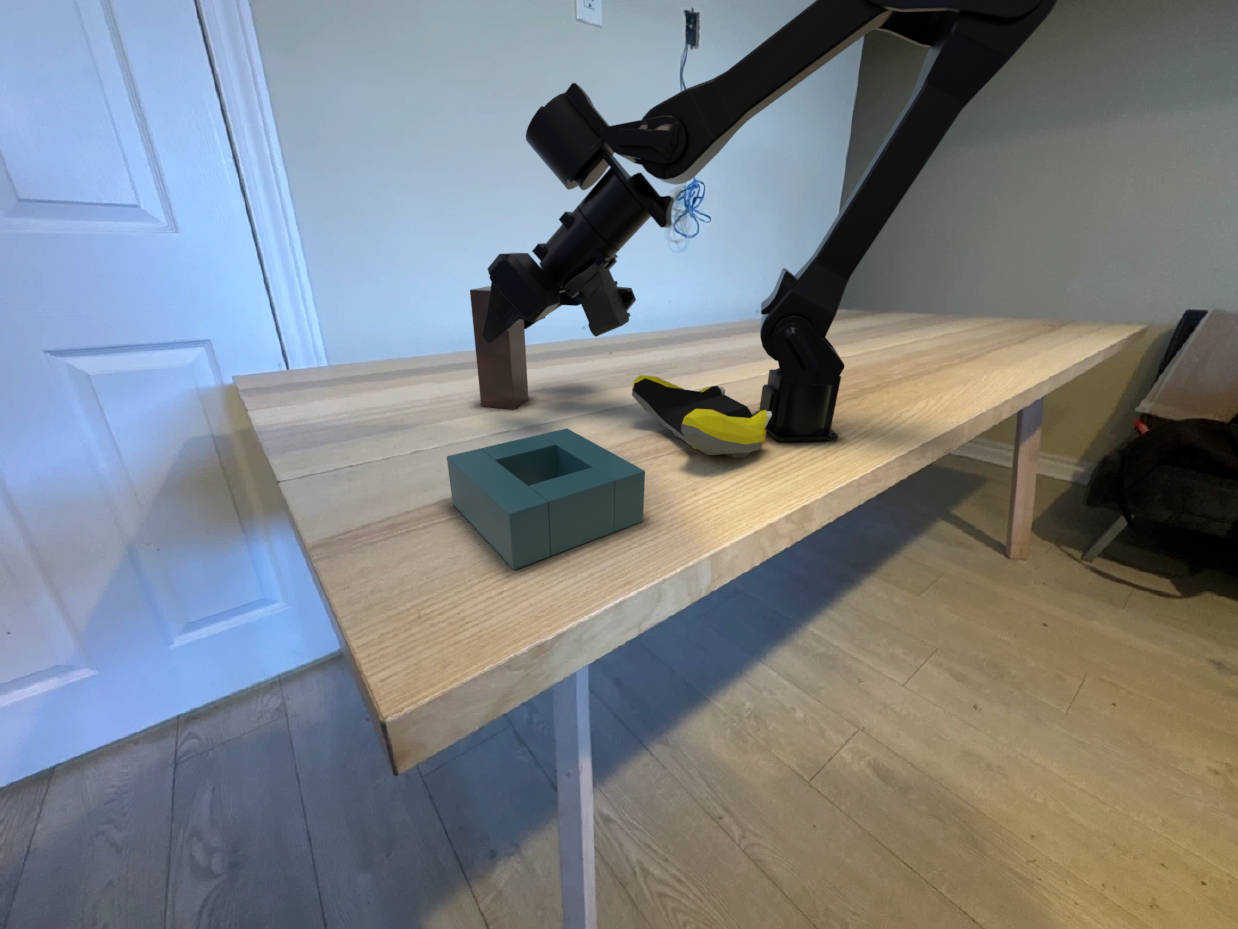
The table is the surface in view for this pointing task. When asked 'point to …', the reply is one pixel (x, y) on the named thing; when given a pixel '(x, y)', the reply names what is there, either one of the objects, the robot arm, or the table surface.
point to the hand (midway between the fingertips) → (505, 332)
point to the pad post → (499, 359)
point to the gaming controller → (703, 417)
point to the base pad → (545, 494)
